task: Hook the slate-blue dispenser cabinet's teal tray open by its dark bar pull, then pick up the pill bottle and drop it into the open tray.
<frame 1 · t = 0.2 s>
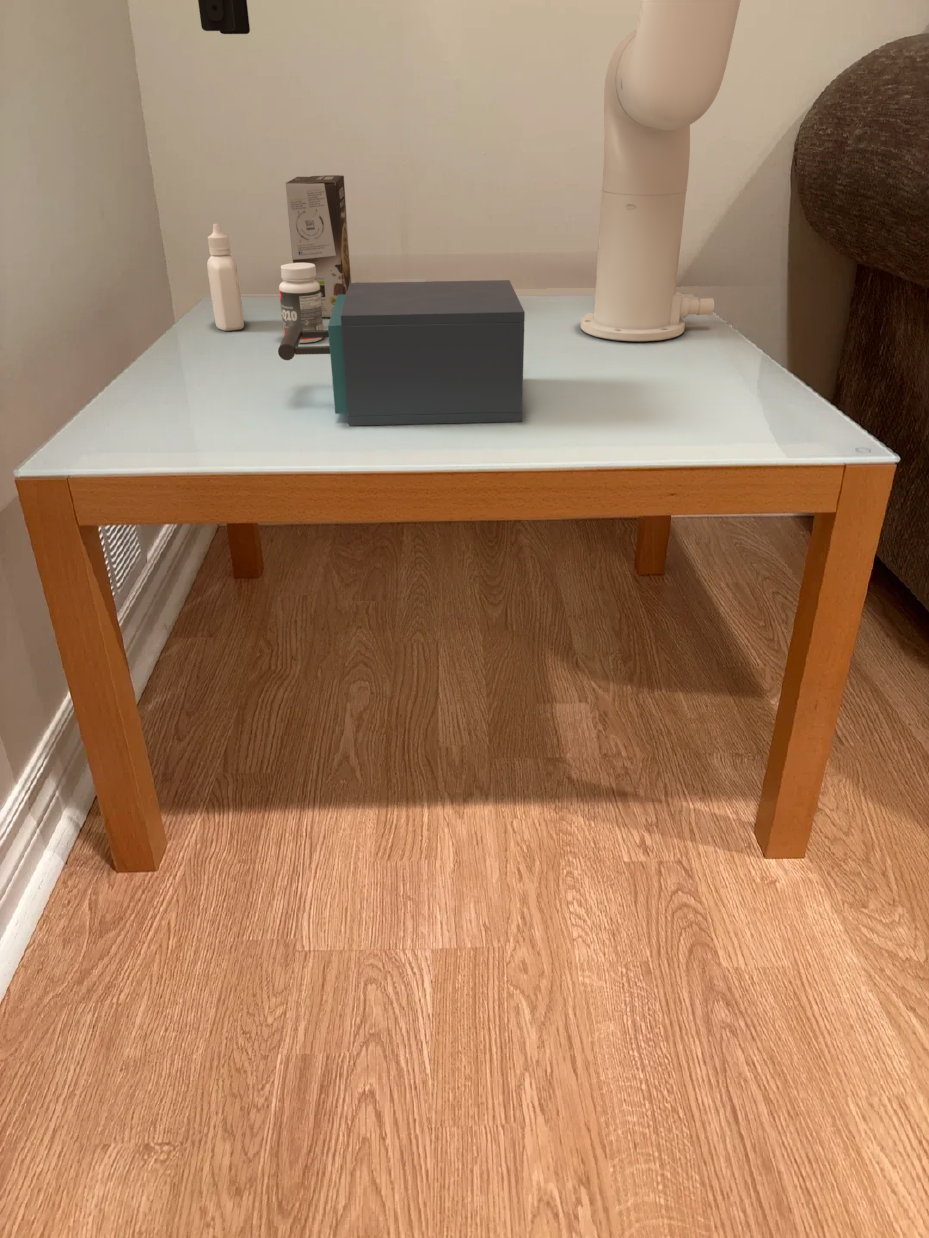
hand: (227, 32, 95), 31 cm above the table, tool pointing down, fingers open, 9 cm apart
pill bottle: (304, 340, 110), on the table
cabinet: (433, 400, 90), on the table
eye dropper bottle: (230, 328, 116), on the table
drawer: (387, 351, 87), point 5 cm above the table, slide at 0.0 cm
coffee box: (326, 312, 123), on the table
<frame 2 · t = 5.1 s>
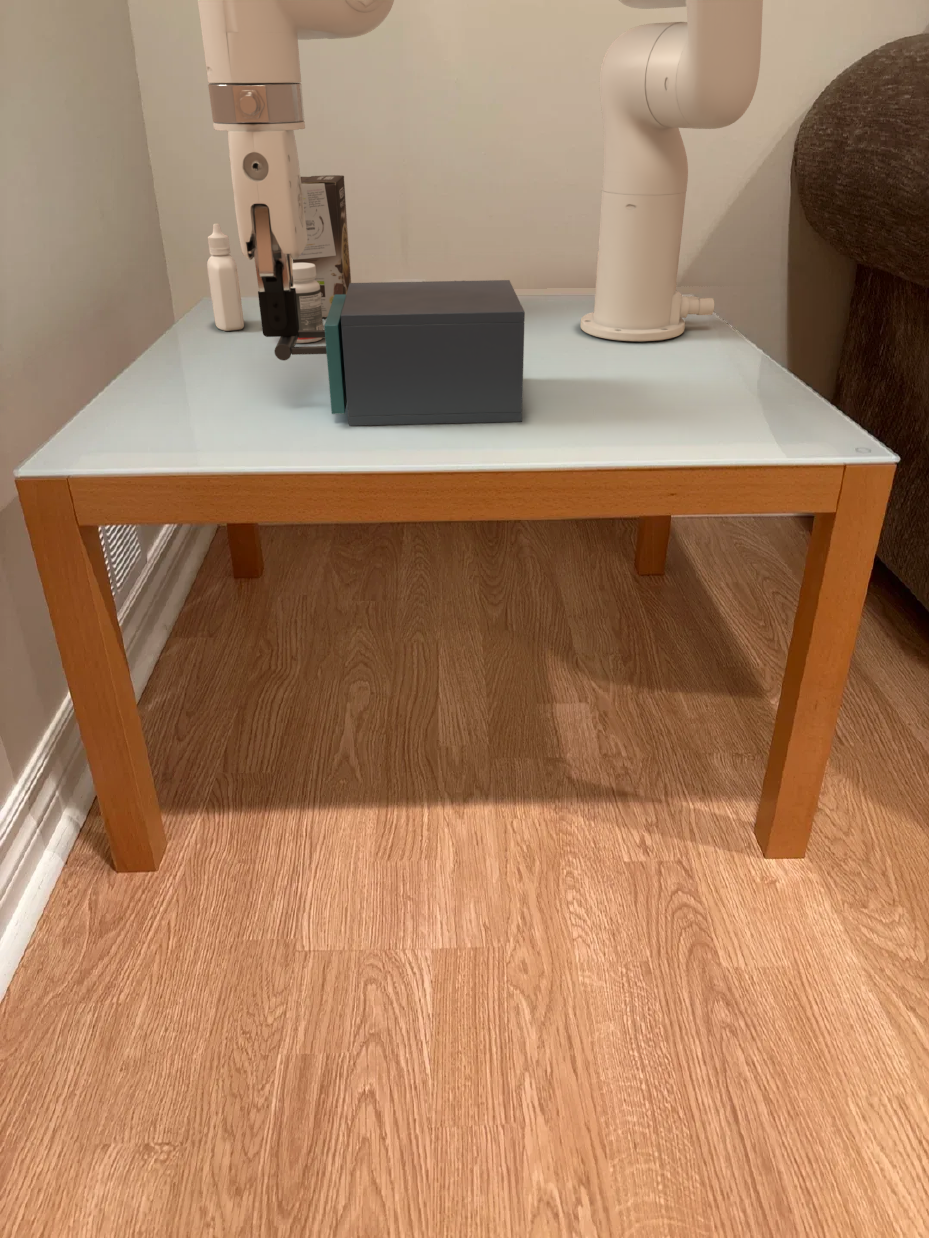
hand: (281, 334, 85), 7 cm above the table, tool pointing down, fingers closed
drawer: (384, 351, 87), point 5 cm above the table, slide at 0.3 cm, touching gripper
everything else where it was.
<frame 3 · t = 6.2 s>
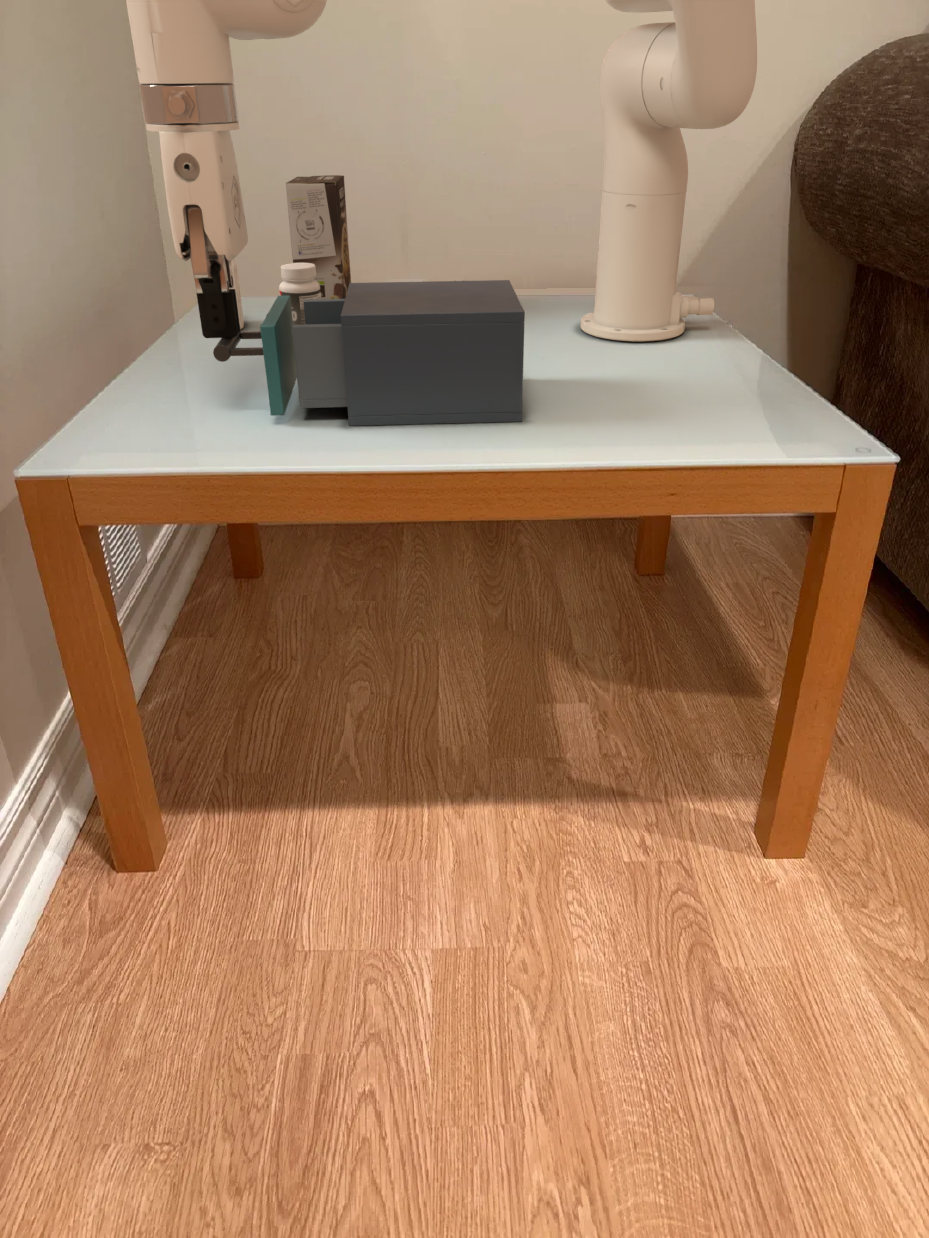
hand: (222, 335, 85), 7 cm above the table, tool pointing down, fingers closed
drawer: (325, 352, 87), point 5 cm above the table, slide at 5.8 cm, touching gripper
everything else where it was.
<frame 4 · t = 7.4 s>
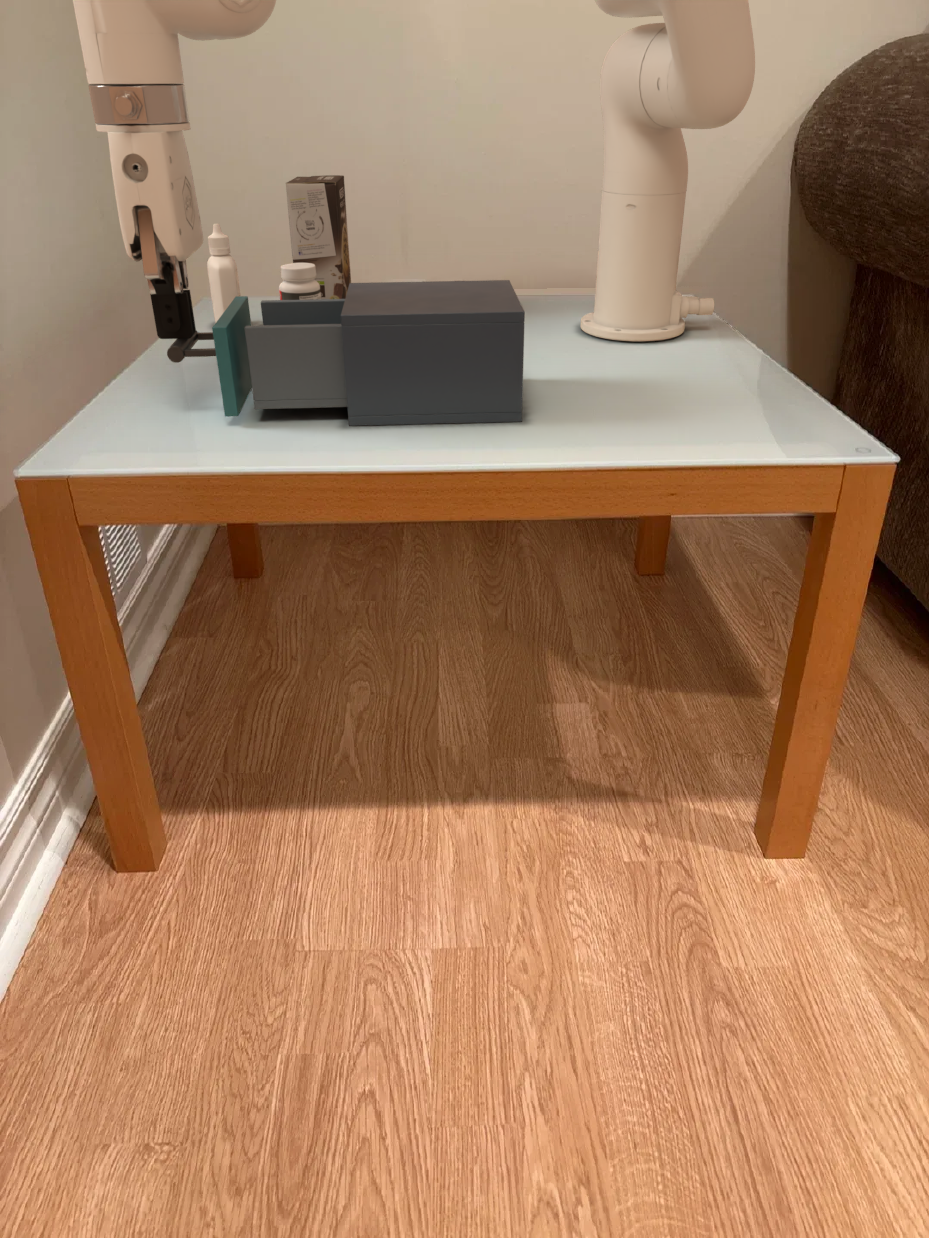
hand: (177, 336, 85), 7 cm above the table, tool pointing down, fingers closed
drawer: (282, 353, 86), point 5 cm above the table, slide at 9.9 cm, touching gripper
everything else where it was.
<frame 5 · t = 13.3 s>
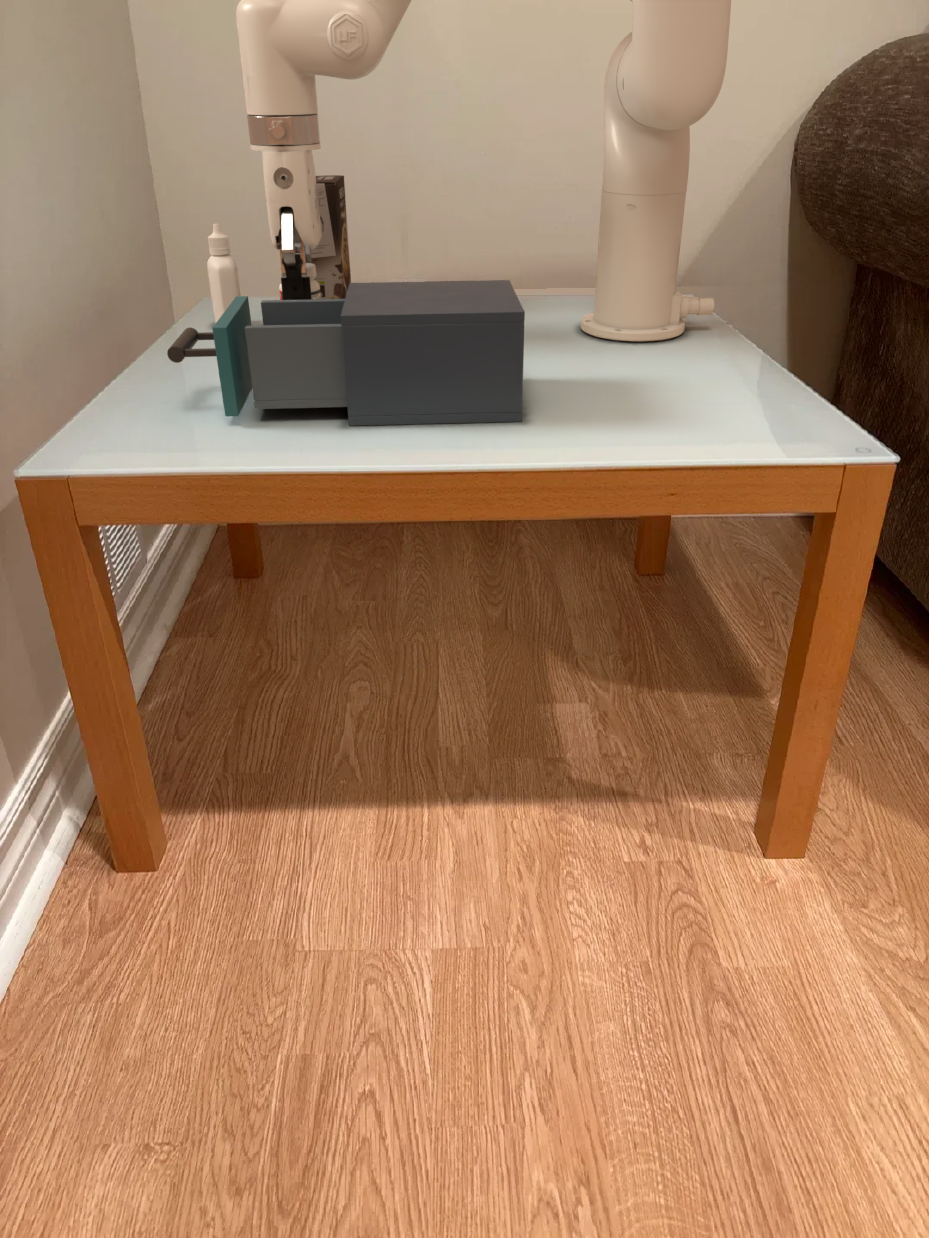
hand: (301, 306, 108), 4 cm above the table, tool pointing down, fingers closed on pill bottle, 4 cm apart
pill bottle: (304, 340, 110), on the table, touching gripper
drawer: (282, 353, 86), point 5 cm above the table, slide at 9.9 cm
everything else where it was.
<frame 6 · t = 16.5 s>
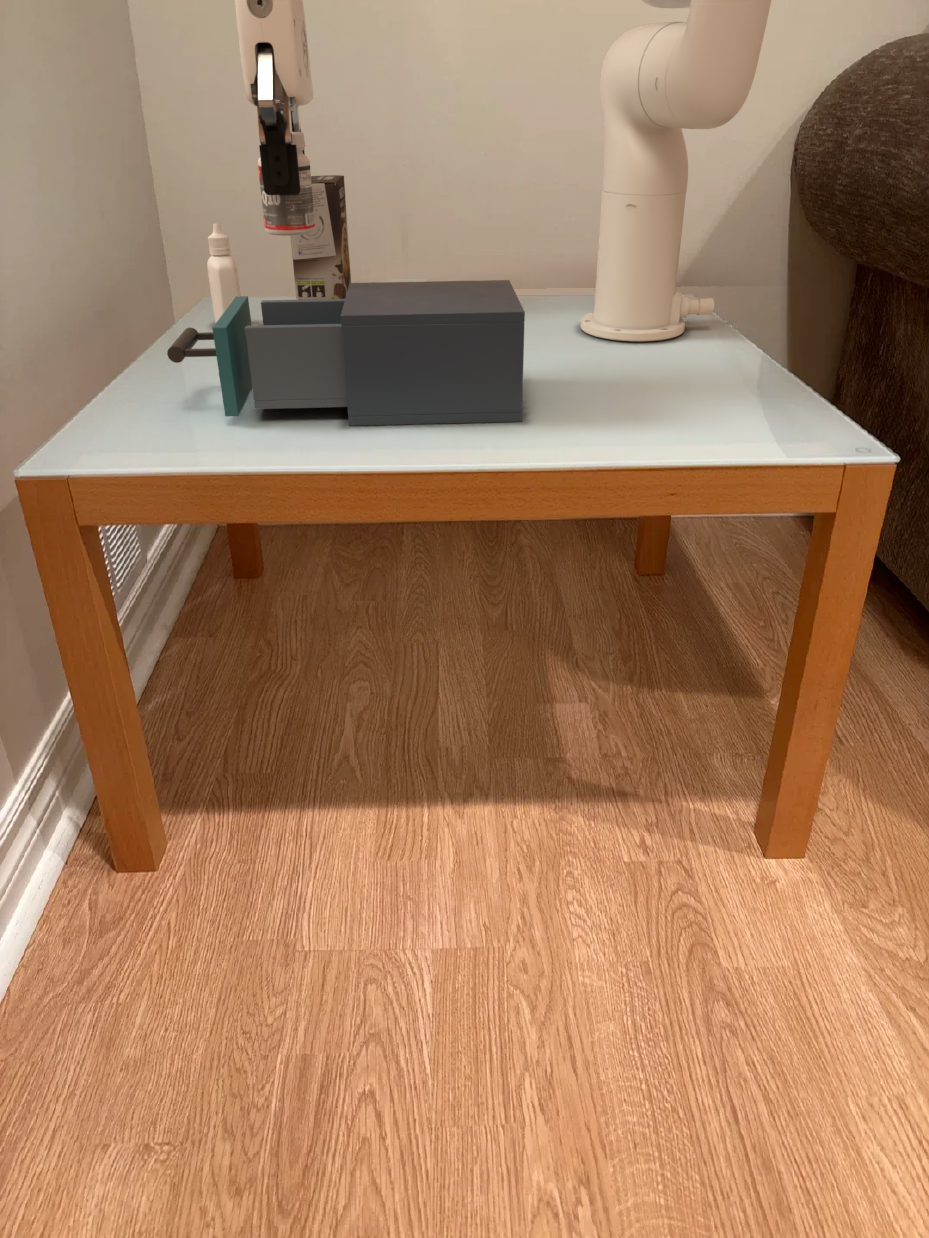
hand: (286, 188, 85), 18 cm above the table, tool pointing down, fingers closed on pill bottle, 4 cm apart
pill bottle: (290, 234, 87), point 14 cm above the table, touching gripper
everything else where it was.
when the fingers open (10 cm above the table, at t = 19.8 s): pill bottle drops 4 cm, resting on drawer.
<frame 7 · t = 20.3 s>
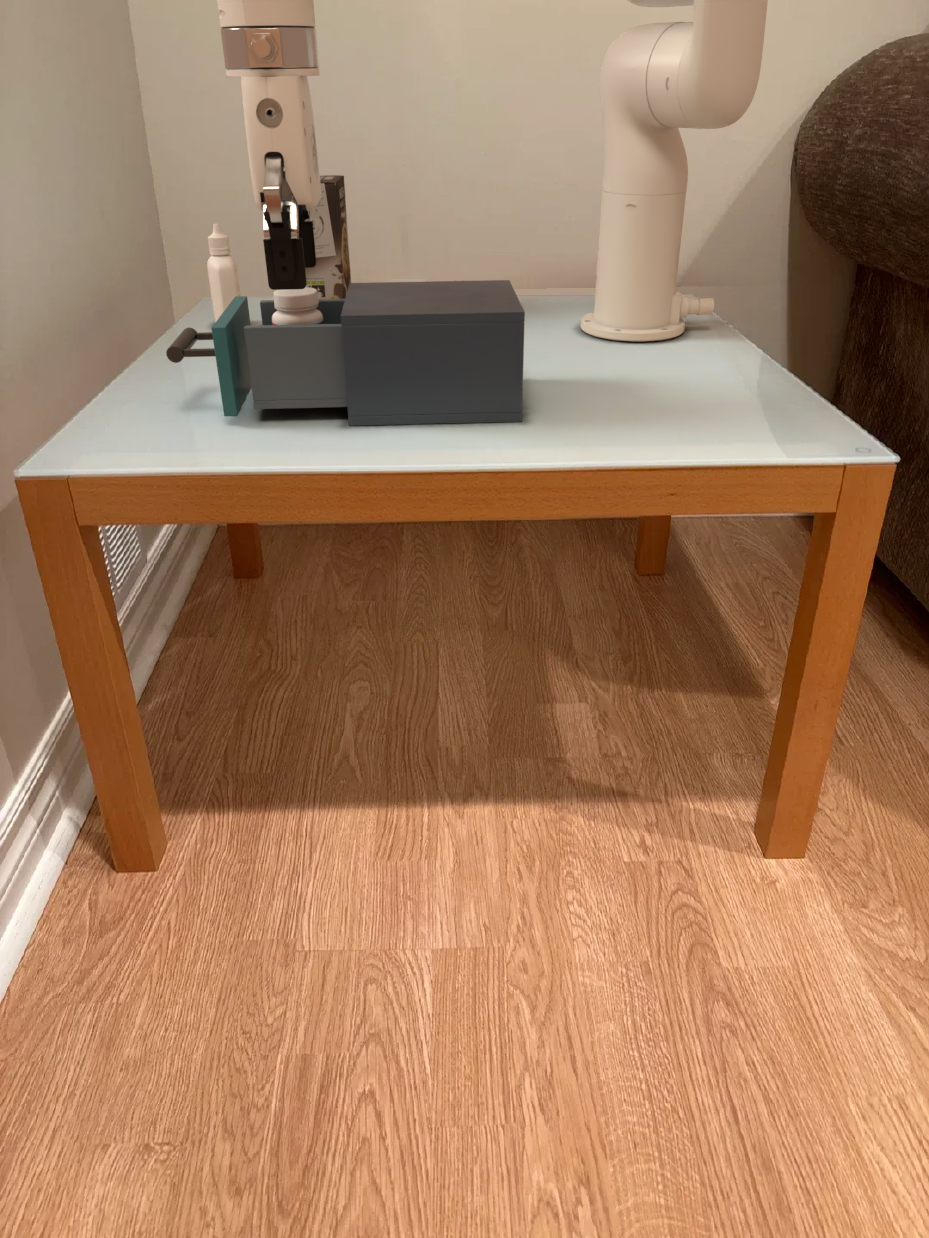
hand: (294, 277, 83), 12 cm above the table, tool pointing down, fingers open, 9 cm apart
pill bottle: (303, 383, 88), point 2 cm above the table, touching drawer
drawer: (281, 353, 86), point 5 cm above the table, slide at 10.0 cm, touching pill bottle
everything else where it was.
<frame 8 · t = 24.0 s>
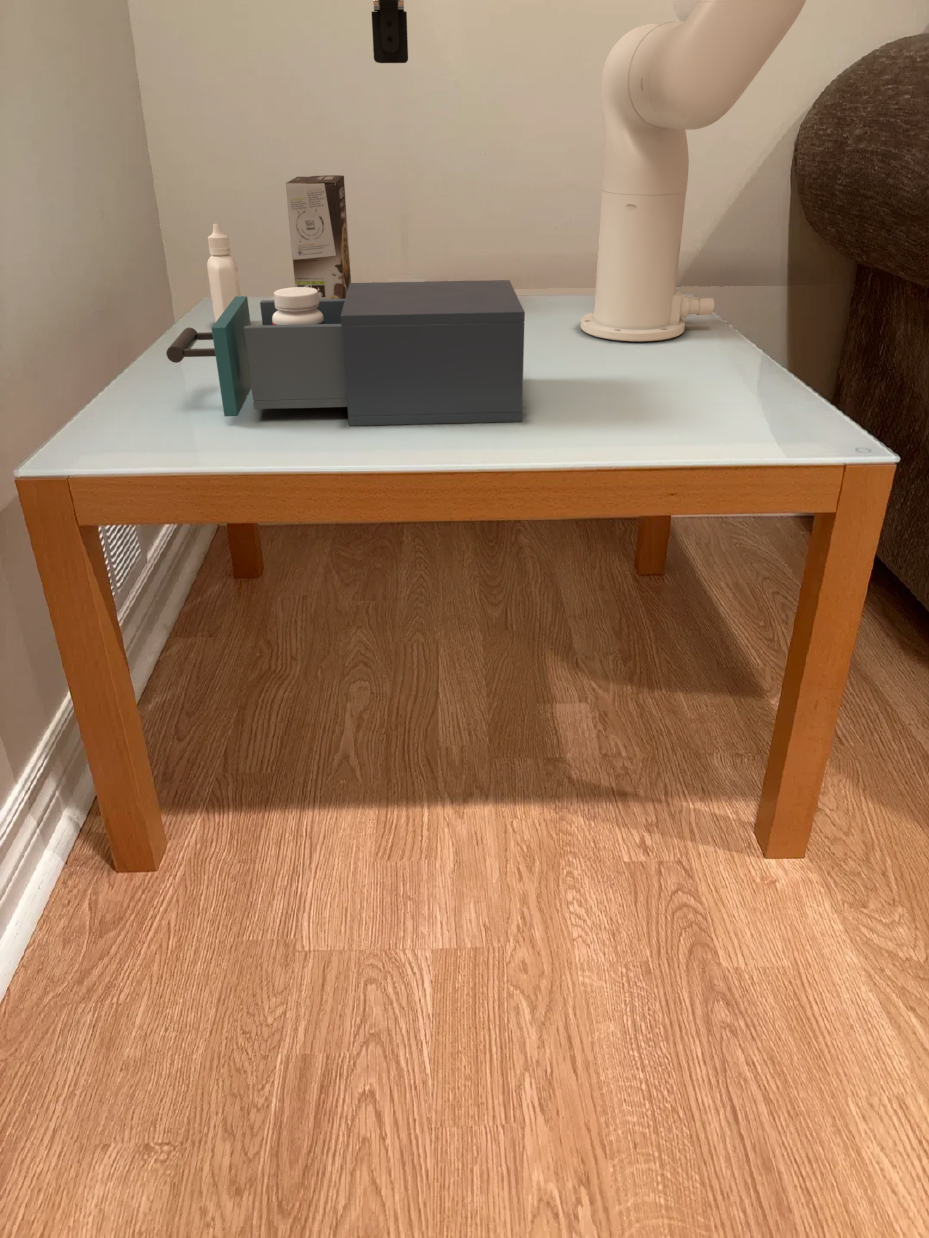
hand: (391, 63, 90), 28 cm above the table, tool pointing down, fingers open, 9 cm apart
nothing on the table moved.
at the end: drawer slide at 10.0 cm; pill bottle inside the target area in the drawer (0.4 cm from its centre), point 1.9 cm above the cabinet's base; the gripper is holding nothing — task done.
